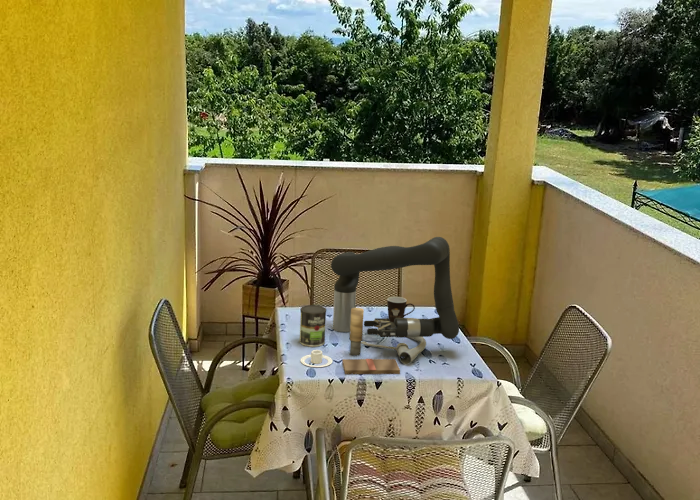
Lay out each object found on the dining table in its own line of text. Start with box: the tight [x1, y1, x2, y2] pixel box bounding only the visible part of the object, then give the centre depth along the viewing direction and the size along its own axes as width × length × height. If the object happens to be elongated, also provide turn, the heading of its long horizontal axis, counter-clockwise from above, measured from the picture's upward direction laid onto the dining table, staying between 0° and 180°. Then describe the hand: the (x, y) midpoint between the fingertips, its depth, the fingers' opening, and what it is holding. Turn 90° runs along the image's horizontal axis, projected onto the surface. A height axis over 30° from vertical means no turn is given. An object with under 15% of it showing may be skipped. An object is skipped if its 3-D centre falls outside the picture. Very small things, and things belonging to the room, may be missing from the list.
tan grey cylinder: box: [349, 307, 365, 357], centre depth 257 cm, size 5×5×18 cm
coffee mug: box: [386, 296, 416, 322], centre depth 296 cm, size 12×9×10 cm
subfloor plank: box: [342, 358, 401, 375], centre depth 246 cm, size 20×10×2 cm, turn 97°
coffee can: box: [299, 304, 327, 348], centre depth 267 cm, size 10×10×14 cm
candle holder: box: [300, 349, 333, 368], centre depth 250 cm, size 12×12×4 cm
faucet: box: [361, 337, 427, 365], centre depth 268 cm, size 5×28×28 cm
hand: (365, 327), depth 257 cm, fingers open, 8 cm apart
